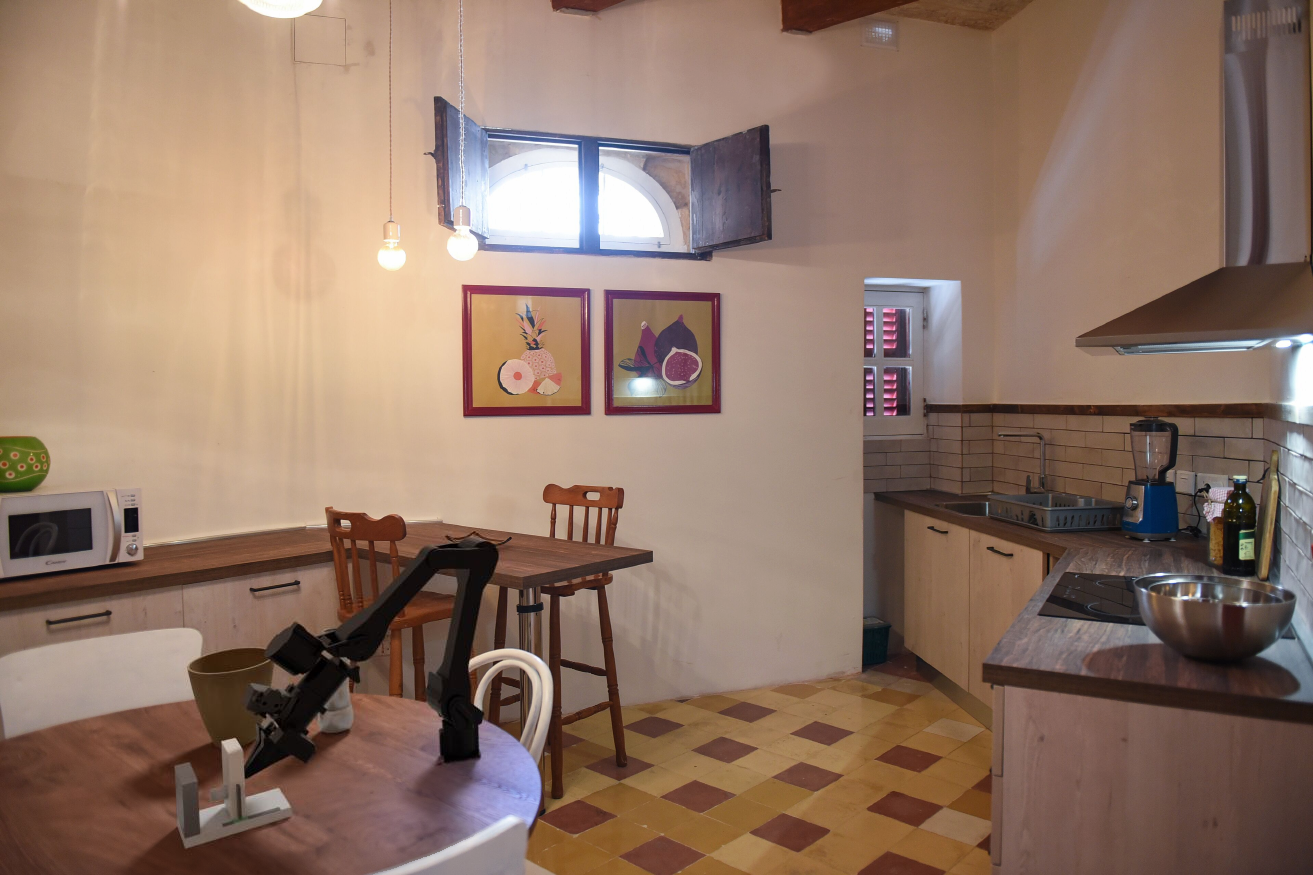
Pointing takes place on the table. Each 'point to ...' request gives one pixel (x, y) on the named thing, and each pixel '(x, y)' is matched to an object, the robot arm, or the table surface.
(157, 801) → the table surface
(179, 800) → the brushed steel plate
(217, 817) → the base
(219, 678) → the plant pot
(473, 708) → the robot arm
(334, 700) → the plastic bottle
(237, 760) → the cream upright slab
